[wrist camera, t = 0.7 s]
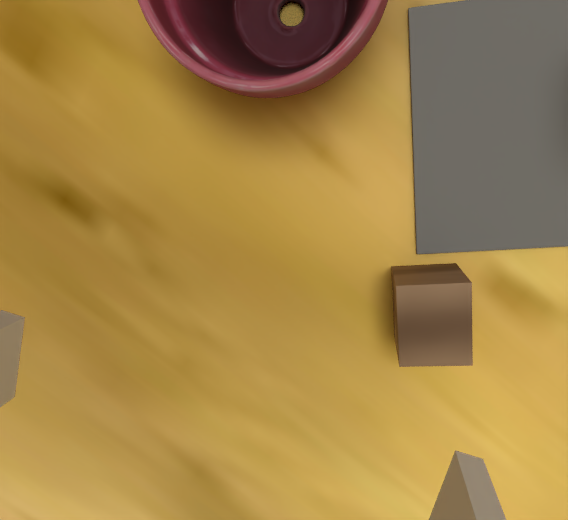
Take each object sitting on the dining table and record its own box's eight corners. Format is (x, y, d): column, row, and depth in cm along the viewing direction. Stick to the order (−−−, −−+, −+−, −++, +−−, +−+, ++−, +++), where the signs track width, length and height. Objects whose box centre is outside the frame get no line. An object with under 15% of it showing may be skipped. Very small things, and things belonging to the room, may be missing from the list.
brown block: (391, 266, 40) (396, 285, 35) (455, 263, 40) (471, 282, 34) (394, 336, 42) (399, 366, 36) (457, 334, 41) (472, 365, 35)
